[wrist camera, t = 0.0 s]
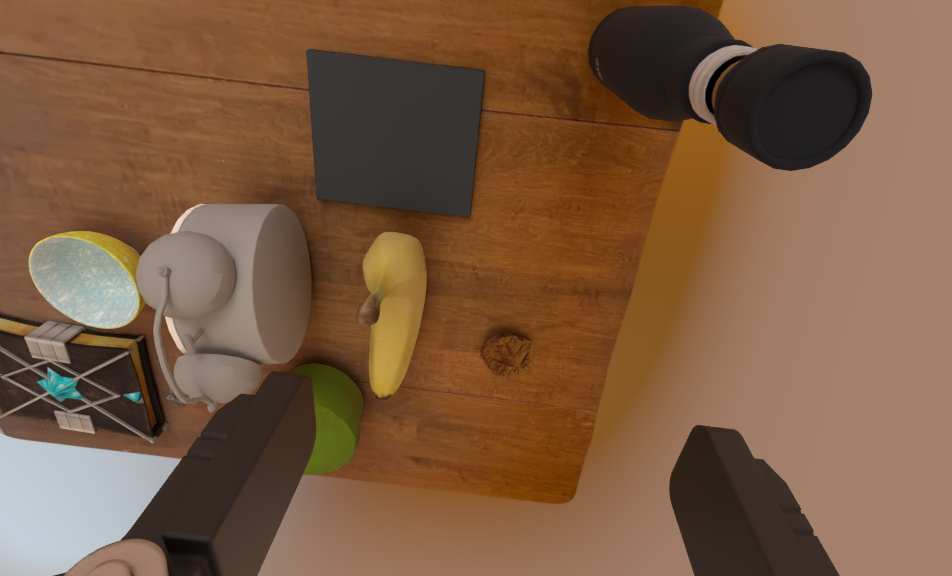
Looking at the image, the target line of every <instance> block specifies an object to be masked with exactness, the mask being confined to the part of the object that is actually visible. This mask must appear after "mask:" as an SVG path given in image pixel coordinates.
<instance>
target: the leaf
mask: <svg viewBox="0 0 952 576" xmlns="http://www.w3.org/2000/svg"><path fill="white" fill-rule="evenodd" d="M532 345H533V342H532V340H527V339H525V338H523V337H517V336H515V335H506V334H500V335H499V336H497V335H495V336H493V337H492V338H490V339H489V338H487V339H486V341H485V343H484V344H483V345H482V346H483V348H482V350H481V351H480V353H481V356H483V359H484V360H485V363H486V364H487V365H488V368H490V369H491V370H492V371H494V372H496V373H498V374H499V375H500V374H503V375H504V376H506V375H513V374H515V372H516V370H517V369H518V368H521V369H523V370H525V369H529V368H531V361H532V359H533V348H532ZM518 374H519V370H518Z"/></svg>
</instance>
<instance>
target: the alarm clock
mask: <svg viewBox="0 0 952 576" xmlns="http://www.w3.org/2000/svg"><path fill="white" fill-rule="evenodd" d="M136 279H137V286H138V291H139V292H140V294H141V295H142V297H143V299H144V300H145V302H146V303H147V305H149V306H150V307H152V308H153V309H155V310H156V314H155V321H154V328H153V333H154V341H155V347H156V351H157V354H158V358H159V362H160V365H161V368H162V371H163V374H164V376H165V378H166V380H167V382H168V384H169V386H170V387H171V389H172V391H173V392H174V394H175V395H176V397H177V398H178V399H179V400H180V401H181V402H182V403H186V404H195V403H197V402H199V401H203V402H205V403H207V404H208V405H207V408H208V411H209V412H213V411H214V410H215V409H216V408H217V403H228V402H230V401H232V400H233V399H234V398H236V397H237V396H238V395H240V394H250V393H251V392H252V391H253V390H255V389H256V388H257V386H258V385H259V383H260V381H261V379H262V374H263V368H262V367H261V365H259V364H284V363H287V362H288V361H290V360H291V359H292V358H293V357H294V356H295V355H296V353H297V352H298V350H299V348H300V346H301V344H302V341H303V338H304V336H305V333H306V329H307V324H308V320H309V314H310V306H311V289H312V280H311V264H310V257H309V250H308V245H307V241H306V237H305V234H304V231H303V228H302V226H301V223H300V221H299V219H298V218H297V216H296V214H295V213H294V211H293V210H291V209H290V208H289V207H288V206H286V205H281V204H199V205H196V206H194V207H192V208H190V209H188V210H187V211H186V212H185V213H184V214H183V215H182V216H181V217H180V218H179V219H178V220H177V222H176V224H175V226H174V228H173V230H172V232H171V234H166V235H163V236H162V237H160V238H158V239H157V240H155V241H154V242H152V243H151V244H149V246H148V247H147V248H146V250H145V251H144V253H143V254H142V255H141V257H140V258H139V263H138V267H137V271H136ZM163 315H164V316H165V318H166V322H167V325H168V329H169V332H170V334H171V335H172V337H173V339H174V341H175V343H176V345H177V347H178V348H179V349H180V350H181V352H182V353H183V354H184V356H181V357H178V359H177V361H176V364H175V368H174V377H173V375H172V373H171V371H170V368H169V364H168V361H167V358H166V354H165V350H164V346H163V342H162V334H161V326H162V320H163ZM180 389H181V390H182V391H183V392H184V393H186V394H187V395H188V396H190V397H192V398H193V399H189V398H187V397H186V396H185V395H184V394H183V393H182V392H181V390H180Z"/></svg>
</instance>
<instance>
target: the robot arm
mask: <svg viewBox="0 0 952 576" xmlns="http://www.w3.org/2000/svg"><path fill="white" fill-rule="evenodd" d="M315 439H316V417H315V406H314V395H313V385H312V379H311V377H310V376H307V375H299V374H291V373H283V372H271V373H270V374H269V375H268V376H267V377H266V379H265V380H264V382H263V383H262V385H261V386H260V388H259V389H258V391H257V392H256V394H255V395H249V394H240V395H238V396H237V397H236V398H234V399H233V400H232V401H230V402H229V403H227V404H226V405H225V406H223V407H222V408H221V409H219V410H218V411H217V412H216V413H215V415H214V416H213V417H212V419H211V420H210V421H209V423H208V424H207V426H206V427H205V428H204V430H203V431H202V432H201V436H200V437H198V438H197V439H196V441H195V442H194V443H193V445H192V446H191V447H190V449H189V450H188V454H187V456H184V457H183V458H182V460H181V461H180V463H179V464H178V465H177V467H176V468H175V469H174V471H173V472H172V473H171V475H170V476H169V477H168V479H167V480H166V481H165V483H164V484H163V486H162V487H161V488H160V490H159V491H158V492H157V494H156V495H155V496H154V498H153V499H152V501H151V502H150V503H149V505H148V506H147V507H146V509H145V510H144V512H143V513H142V514H141V516H140V517H139V518H138V520H137V521H136V522H135V524H134V525H133V527H132V528H131V529H130V530H129V531H128V533H127V534H126V535H125V536H124V537H123V538H122V539H121V540H120V541H118V542H114V543H112V544H109V545H106V546H104V547H102V548H99V549H97V550H96V551H94V552H92V553H90V554H89V555H87V556H86V557H84V558H83V559H82V560H80V561H79V562H78V563H76V564H75V565H74V566H73V567H72V568H71V569H70V570H69V571H68V572H66V573H63V574H59V575H55V576H257V575H258V573H259V571H260V568H261V566H262V564H263V562H264V560H265V557H266V555H267V553H268V551H269V548H270V546H271V544H272V542H273V540H274V537H275V535H276V533H277V531H278V528H279V526H280V524H281V522H282V519H283V517H284V515H285V513H286V511H287V508H288V506H289V504H290V502H291V499H292V497H293V495H294V493H295V491H296V488H297V486H298V484H299V482H300V480H301V477H302V475H303V473H304V471H305V468H306V466H307V464H308V462H309V460H310V457H311V455H312V452H313V448H314V444H315ZM669 490H670V499H671V503H672V507H673V510H674V513H675V516H676V520H677V523H678V526H679V529H680V532H681V535H682V538H683V541H684V544H685V548H686V550H687V554H688V557H689V560H690V563H691V566H692V569H693V572H694V575H695V576H839V574H838V572H837V570H836V569H835V567H834V565H833V563H832V562H831V560H830V558H829V557H828V555H827V553H826V552H825V550H824V548H823V546H822V544H821V543H820V541H819V539H818V537H817V536H814V534H813V529H812V527H811V525H810V524H809V522H808V520H807V518H806V517H805V515H804V514H801V511H800V510H801V508H800V506H799V504H798V503H797V501H796V499H795V498H794V496H793V494H792V492H791V491H790V489H789V487H788V485H787V484H786V482H785V481H784V480H783V479H782V478H780V476H779V475H778V474H777V473H776V472H775V471H774V470H773V469H772V468H771V467H770V466H769V465H768V464H767V463H766V462H765V461H764V460H762V459H755V458H754V457H753V455H752V454H751V452H750V450H749V448H748V446H747V444H746V443H745V441H744V439H743V437H742V435H741V434H740V433H739V432H738V431H736V430H734V429H725V428H717V427H710V426H701V425H697V426H695V427H694V428H693V429H692V431H691V432H690V435H689V437H688V439H687V441H686V443H685V445H684V447H683V450H682V452H681V454H680V456H679V458H678V460H677V462H676V465H675V467H674V469H673V471H672V474H671V478H670V488H669Z"/></svg>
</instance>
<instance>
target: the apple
mask: <svg viewBox="0 0 952 576" xmlns="http://www.w3.org/2000/svg"><path fill="white" fill-rule="evenodd" d="M289 373H291V374H299V375H307V376H310V377H311V379H312V385H313V395H314V406H315V417H316V439H315V444H314V448H313V452H312V455H311V457H310V460H309V462H308V464H307V466H306V468H305V471H304V473H303V474H304V475H315V474H325V473H328V472H331V471H334V470H336V469H338V468H341V467H343V466H345V465H348V463H349V462H350V460H351V458H352V457H353V455H354V454H355V452H356V449H357V446H358V443H359V438H360V421H361V417H362V412H363V407H364V402H363V394H362V393H361V391H360V390H359V388H358V386H357V385H356V383H355V382H354V381H352V380H351V379H350V378H349V377H348V376H347V375H346V374H345V373H343V372H341V371H339V370H337V369H335V368H333V367H331V366H327V365H322V364H318V363H311V364H305V365H300V366H298V367H297V368H295V369H294V370H292V371H291V372H289Z"/></svg>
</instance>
